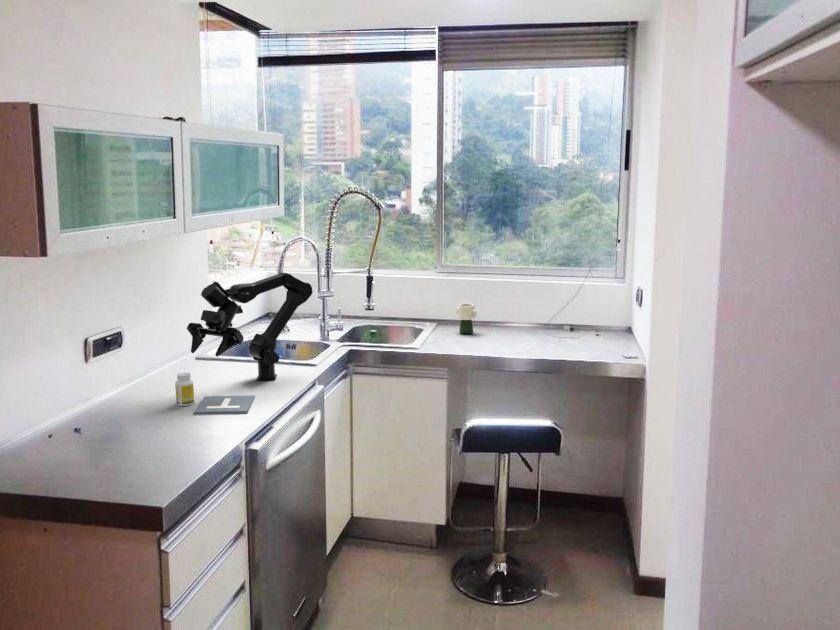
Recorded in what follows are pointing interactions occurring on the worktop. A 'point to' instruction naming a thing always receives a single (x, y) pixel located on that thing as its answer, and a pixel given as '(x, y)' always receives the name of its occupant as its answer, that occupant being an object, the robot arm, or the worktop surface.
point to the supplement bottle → (184, 389)
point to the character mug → (466, 317)
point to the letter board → (225, 404)
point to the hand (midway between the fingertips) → (204, 354)
